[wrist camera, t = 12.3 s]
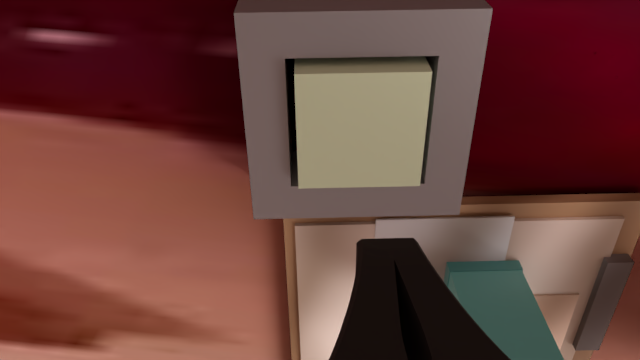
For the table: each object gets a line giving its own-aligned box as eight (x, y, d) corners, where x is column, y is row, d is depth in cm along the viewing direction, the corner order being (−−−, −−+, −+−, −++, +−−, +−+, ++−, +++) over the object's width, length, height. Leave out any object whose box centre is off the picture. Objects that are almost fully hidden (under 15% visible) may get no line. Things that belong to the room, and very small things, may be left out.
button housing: (471, -14, 19) (492, 8, 17) (445, 178, 24) (459, 214, 21) (241, -10, 19) (233, 13, 17) (258, 182, 24) (253, 219, 21)
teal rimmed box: (518, 260, 25) (583, 395, 19) (506, 311, 27) (561, 448, 21) (446, 261, 25) (489, 397, 19) (438, 312, 27) (475, 450, 21)
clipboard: (646, 192, 24) (660, 209, 23) (578, 368, 31) (587, 386, 30) (282, 200, 24) (282, 217, 23) (293, 375, 31) (292, 393, 30)
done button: (418, 43, 20) (432, 71, 18) (408, 149, 22) (419, 186, 20) (295, 45, 20) (294, 74, 17) (299, 151, 22) (298, 188, 20)
